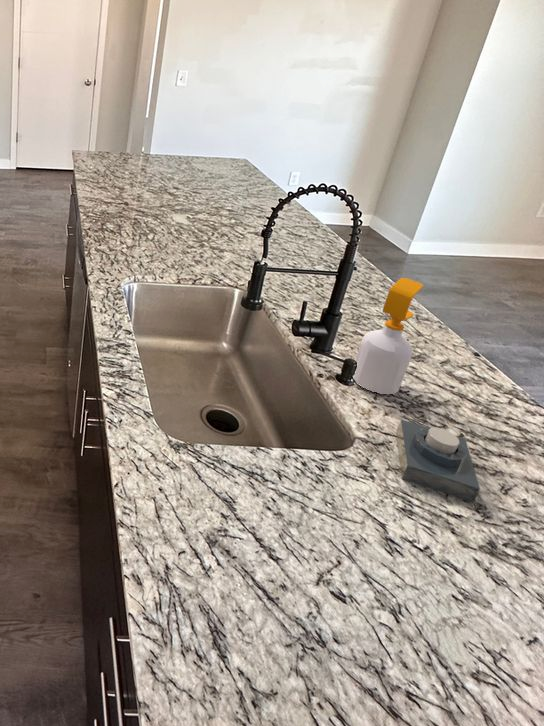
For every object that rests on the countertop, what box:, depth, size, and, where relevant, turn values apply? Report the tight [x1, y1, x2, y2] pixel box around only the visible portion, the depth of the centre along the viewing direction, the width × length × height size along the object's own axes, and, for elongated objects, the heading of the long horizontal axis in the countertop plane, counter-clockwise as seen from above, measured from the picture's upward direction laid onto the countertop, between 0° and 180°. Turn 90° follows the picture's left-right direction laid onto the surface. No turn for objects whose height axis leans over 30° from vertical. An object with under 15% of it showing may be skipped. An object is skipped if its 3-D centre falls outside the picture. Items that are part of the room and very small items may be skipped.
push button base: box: [395, 418, 481, 504], centre depth 94 cm, size 10×13×5 cm
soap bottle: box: [354, 277, 424, 395], centre depth 111 cm, size 9×9×25 cm
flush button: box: [425, 427, 460, 454], centre depth 93 cm, size 4×4×2 cm
